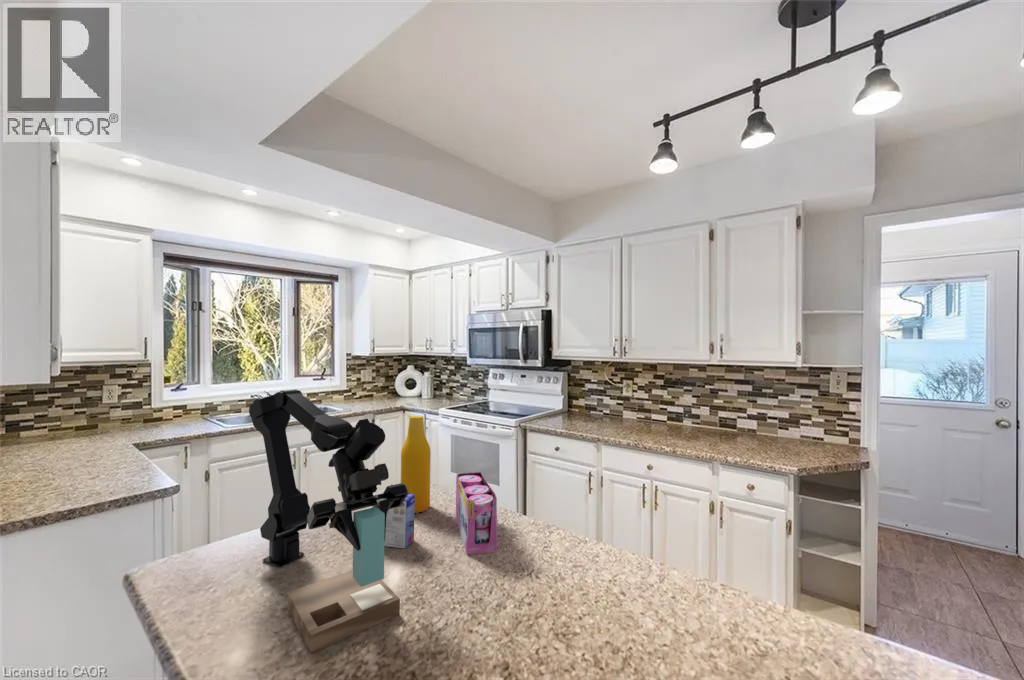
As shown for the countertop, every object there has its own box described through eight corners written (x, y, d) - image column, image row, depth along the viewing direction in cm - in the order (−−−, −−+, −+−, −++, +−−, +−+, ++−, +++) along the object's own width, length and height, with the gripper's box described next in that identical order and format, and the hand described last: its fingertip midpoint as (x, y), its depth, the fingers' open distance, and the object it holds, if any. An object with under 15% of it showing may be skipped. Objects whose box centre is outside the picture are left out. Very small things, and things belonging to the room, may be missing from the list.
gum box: (498, 554, 105) (499, 499, 105) (467, 558, 103) (467, 502, 103) (481, 516, 128) (481, 471, 128) (455, 519, 126) (455, 473, 126)
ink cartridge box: (415, 539, 112) (416, 485, 112) (406, 549, 107) (406, 492, 107) (381, 536, 114) (382, 482, 114) (370, 545, 109) (371, 489, 109)
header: (287, 607, 83) (287, 591, 83) (367, 578, 93) (367, 564, 93) (310, 653, 71) (311, 634, 71) (399, 614, 81) (399, 597, 81)
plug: (352, 576, 81) (353, 512, 82) (374, 569, 84) (375, 506, 84) (361, 586, 78) (361, 519, 78) (383, 578, 81) (384, 513, 81)
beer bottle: (416, 500, 140) (417, 413, 140) (436, 507, 134) (437, 416, 135) (393, 509, 132) (395, 417, 133) (413, 516, 127) (415, 420, 127)
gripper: (312, 459, 78) (330, 540, 70) (405, 445, 90) (430, 512, 82) (300, 490, 84) (315, 569, 76) (389, 473, 96) (411, 538, 88)
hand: (371, 545), depth 80 cm, fingers closed on plug, 4 cm apart
